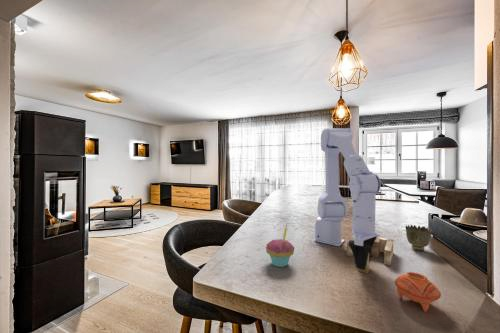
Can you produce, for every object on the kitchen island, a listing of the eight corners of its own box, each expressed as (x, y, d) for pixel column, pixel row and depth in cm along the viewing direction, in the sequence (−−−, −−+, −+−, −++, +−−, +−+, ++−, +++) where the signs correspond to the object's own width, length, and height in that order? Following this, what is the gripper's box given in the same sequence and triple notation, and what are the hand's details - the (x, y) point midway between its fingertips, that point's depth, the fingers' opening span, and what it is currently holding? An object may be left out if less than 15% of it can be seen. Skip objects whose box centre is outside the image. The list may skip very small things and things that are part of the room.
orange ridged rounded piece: (395, 306, 45) (394, 272, 47) (395, 297, 52) (394, 266, 53) (445, 320, 41) (443, 282, 42) (438, 308, 47) (436, 275, 49)
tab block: (352, 269, 62) (352, 247, 62) (363, 249, 77) (364, 231, 77) (372, 275, 59) (372, 251, 59) (380, 252, 74) (380, 234, 74)
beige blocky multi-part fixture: (346, 255, 72) (347, 241, 72) (354, 244, 81) (354, 232, 81) (390, 266, 64) (390, 251, 64) (393, 253, 74) (393, 239, 74)
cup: (436, 255, 73) (436, 231, 73) (411, 253, 74) (412, 229, 74) (423, 246, 80) (423, 225, 80) (401, 245, 81) (401, 224, 81)
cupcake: (295, 259, 68) (296, 222, 68) (291, 272, 60) (292, 229, 60) (269, 255, 71) (269, 219, 71) (262, 267, 63) (262, 226, 63)
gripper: (376, 223, 53) (375, 278, 53) (382, 213, 65) (382, 258, 65) (346, 219, 58) (345, 269, 58) (357, 210, 69) (356, 252, 69)
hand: (363, 263), depth 62 cm, fingers open, 7 cm apart
